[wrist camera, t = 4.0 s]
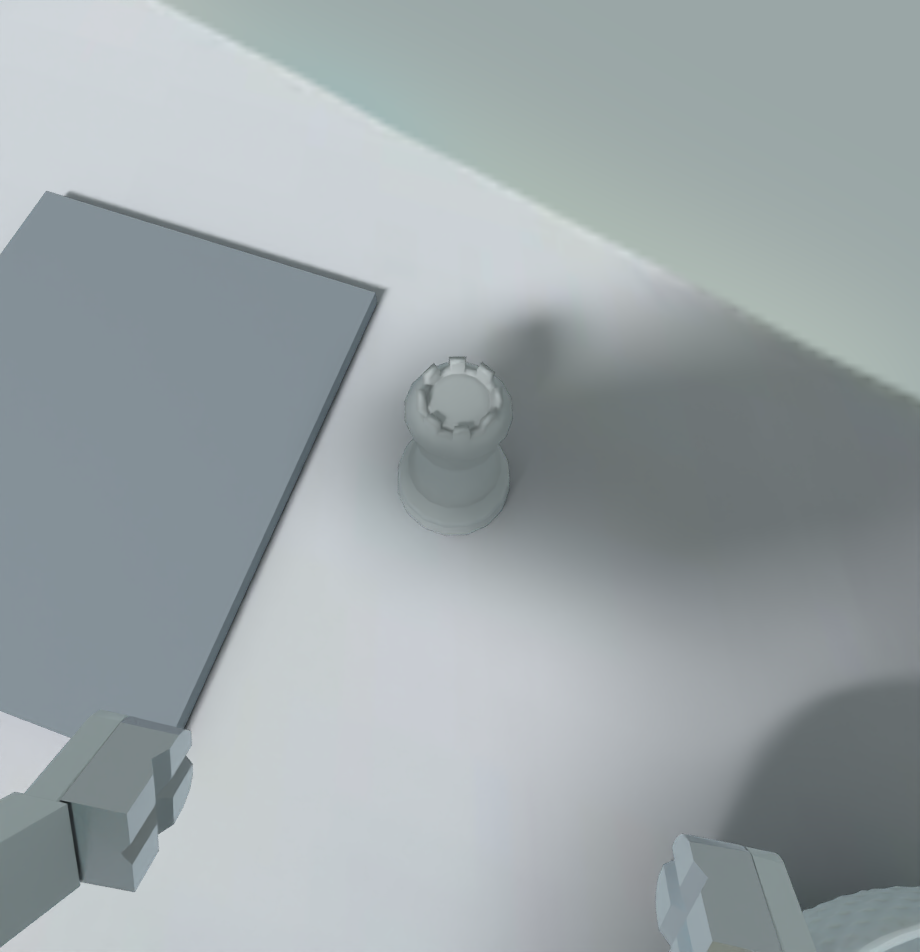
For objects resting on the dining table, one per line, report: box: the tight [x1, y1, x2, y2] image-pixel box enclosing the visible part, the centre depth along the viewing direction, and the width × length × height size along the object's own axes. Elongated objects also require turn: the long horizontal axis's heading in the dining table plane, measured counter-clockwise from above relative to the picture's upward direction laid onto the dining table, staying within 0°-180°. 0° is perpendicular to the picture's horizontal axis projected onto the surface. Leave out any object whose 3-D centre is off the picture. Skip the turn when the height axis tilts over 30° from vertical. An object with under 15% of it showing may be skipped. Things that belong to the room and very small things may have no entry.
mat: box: [0, 191, 377, 738], centre depth 25 cm, size 20×16×1 cm
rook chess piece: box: [398, 357, 513, 535], centre depth 22 cm, size 4×4×8 cm
